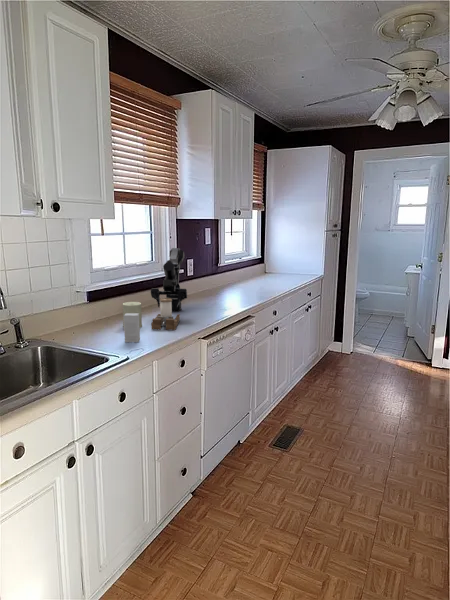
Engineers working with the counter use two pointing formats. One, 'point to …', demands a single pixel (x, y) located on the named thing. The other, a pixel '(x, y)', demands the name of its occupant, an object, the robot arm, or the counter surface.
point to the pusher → (164, 319)
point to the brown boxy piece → (170, 323)
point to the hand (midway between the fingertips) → (167, 307)
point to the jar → (166, 307)
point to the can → (132, 310)
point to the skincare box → (131, 327)
